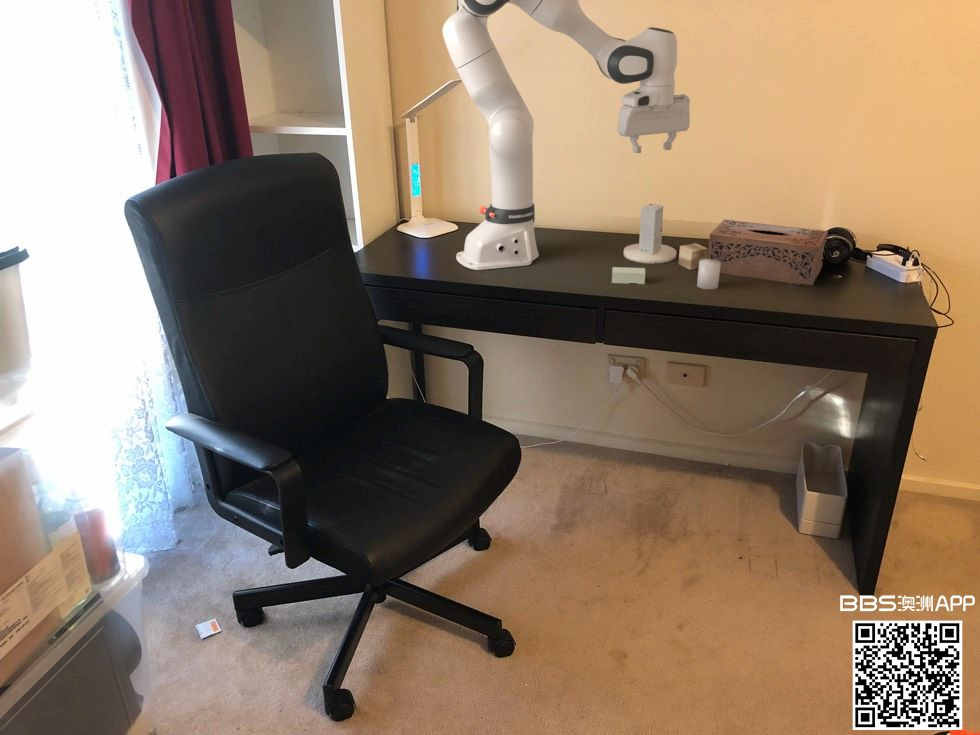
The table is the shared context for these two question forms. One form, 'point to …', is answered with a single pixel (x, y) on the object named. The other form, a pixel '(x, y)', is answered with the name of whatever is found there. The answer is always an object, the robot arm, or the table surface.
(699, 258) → the birch block
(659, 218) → the skincare box
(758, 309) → the table surface
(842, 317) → the table surface
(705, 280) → the grey plastic cylinder
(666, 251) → the cream saucer
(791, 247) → the tissue box cover
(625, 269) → the sage brick
